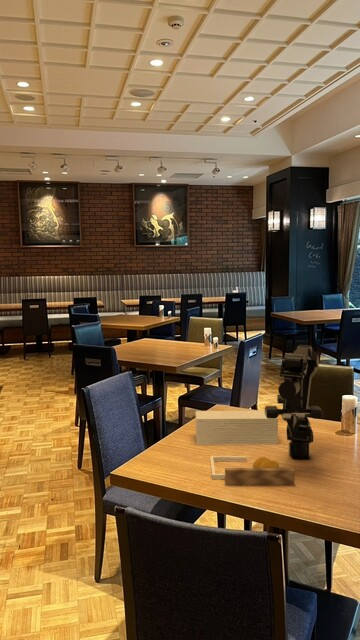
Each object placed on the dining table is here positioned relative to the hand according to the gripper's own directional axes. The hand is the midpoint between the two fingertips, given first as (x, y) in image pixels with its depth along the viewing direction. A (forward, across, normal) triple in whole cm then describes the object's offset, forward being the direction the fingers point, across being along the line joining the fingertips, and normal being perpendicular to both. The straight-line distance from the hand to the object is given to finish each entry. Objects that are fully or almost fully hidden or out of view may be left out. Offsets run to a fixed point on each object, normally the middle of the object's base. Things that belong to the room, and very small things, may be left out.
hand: (292, 436), depth 164 cm
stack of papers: (+12, +17, -29) cm, 36 cm away
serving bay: (+12, +21, 0) cm, 24 cm away
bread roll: (+12, +9, 0) cm, 15 cm away
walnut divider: (+12, +13, +12) cm, 21 cm away
